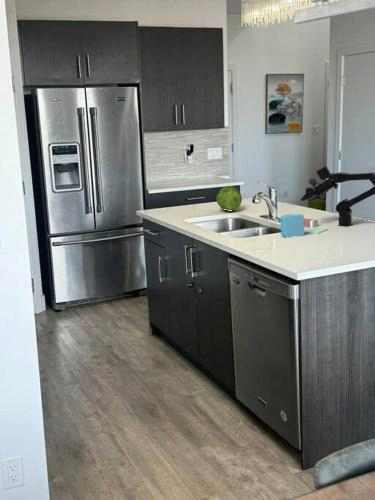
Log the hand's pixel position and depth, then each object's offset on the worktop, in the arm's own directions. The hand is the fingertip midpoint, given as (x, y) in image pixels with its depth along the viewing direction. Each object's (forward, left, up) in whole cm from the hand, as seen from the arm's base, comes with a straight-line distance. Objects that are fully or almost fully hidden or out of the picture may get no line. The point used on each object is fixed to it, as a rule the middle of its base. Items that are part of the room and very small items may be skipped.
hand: (304, 200), depth 362 cm
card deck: (-5, +6, -15) cm, 17 cm away
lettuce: (+77, -25, -15) cm, 82 cm away
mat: (-14, +18, -15) cm, 27 cm away
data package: (-11, +34, -15) cm, 39 cm away
